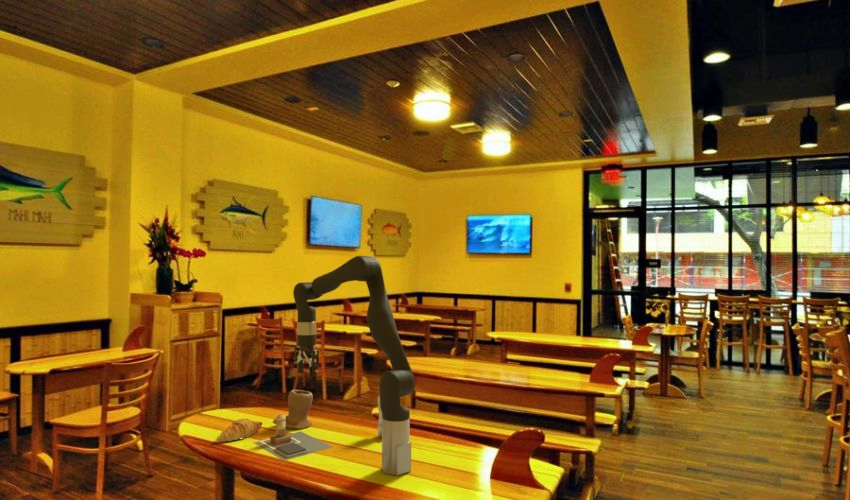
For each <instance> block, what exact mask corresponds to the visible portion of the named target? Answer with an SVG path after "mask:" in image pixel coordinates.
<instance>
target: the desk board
mask: <svg viewBox="0 0 850 500" xmlns="http://www.w3.org/2000/svg"><path fill="white" fill-rule="evenodd" d="M287 435H289V436H291V442H290V443H286V444H282V445H278V446H277V445H275V444H273V443H272V442H270V438H267V439H263V440H260V441H258V440H257V441H256V442H253V444H255V445H256V446H259V447H260V448H262V449H263V450H265V451H267V452H268V453H270V454H271V455H274V456H275V457H277V458H279V460H282V461H289V460H291V459H295V458H299V457H302V456H306V455H310V454H314V453H317V452H321V451H324V450H328V449H332V448H333V446H332V445H330V444H328V443H326V442H324V441H322V440H319V439H317V438H316V437H313V436H312V435H309V434H307V433H305V432H303V431H297V432H293V433H287Z"/></svg>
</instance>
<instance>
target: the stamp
mask: <svg viewBox="0 0 850 500" xmlns="http://www.w3.org/2000/svg"><path fill="white" fill-rule="evenodd" d="M285 416H286V415H284V414H283V413H279V414H278V415H277V416H276V417H275V419H276V424H275V427H276V428H275V434H273V435H269V436H270V437H269V439H270V442H272V443H273V444H275V445H277V446H278V445H282V444H286V443H290V442H291V436H289V435H288V433H286V427H285V421H286V417H285Z"/></svg>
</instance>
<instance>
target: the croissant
mask: <svg viewBox="0 0 850 500" xmlns="http://www.w3.org/2000/svg"><path fill="white" fill-rule="evenodd" d="M262 425H263V422H261V421H255V420H254V421H253V420H250V419H248V418H240V419H237V420H234V421H233V422H232V423H231V424H230V425H229V426H227V428H226V429H225V430H223V431H222V432H221V433H220V434H219V435H218V436H217V437H216V441H217V442H220V443H225V441H228V442H233V441H232V440H236V441H238V440H237V439H240V438H245V437H247V436H249V435H252V434H253V433H254V434H255V433H257V432H258V431H259V430H260V429H261V427H262ZM257 430H258V431H257ZM256 431H257V432H256ZM254 434H253V435H254ZM253 435H252V436H253ZM245 439H246V438H245Z"/></svg>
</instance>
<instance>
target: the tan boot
mask: <svg viewBox="0 0 850 500" xmlns="http://www.w3.org/2000/svg"><path fill="white" fill-rule="evenodd" d="M313 396H314V395H313V393H312V392H311V391H306V390H302V389H292V390H290V391H289V393H288V397H287V408H288V409H287V410H288V415H285V417H286V421H285V428H290V429H297V430H303V429H306V428H308V427H310V426H311V425H312V422H311V421H310V420H309V419H308V415H309V412H310V409H311V408H312V404H313V400H314V397H313ZM272 423H273V424H275V425H276V418H274V419H273V420H272Z"/></svg>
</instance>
